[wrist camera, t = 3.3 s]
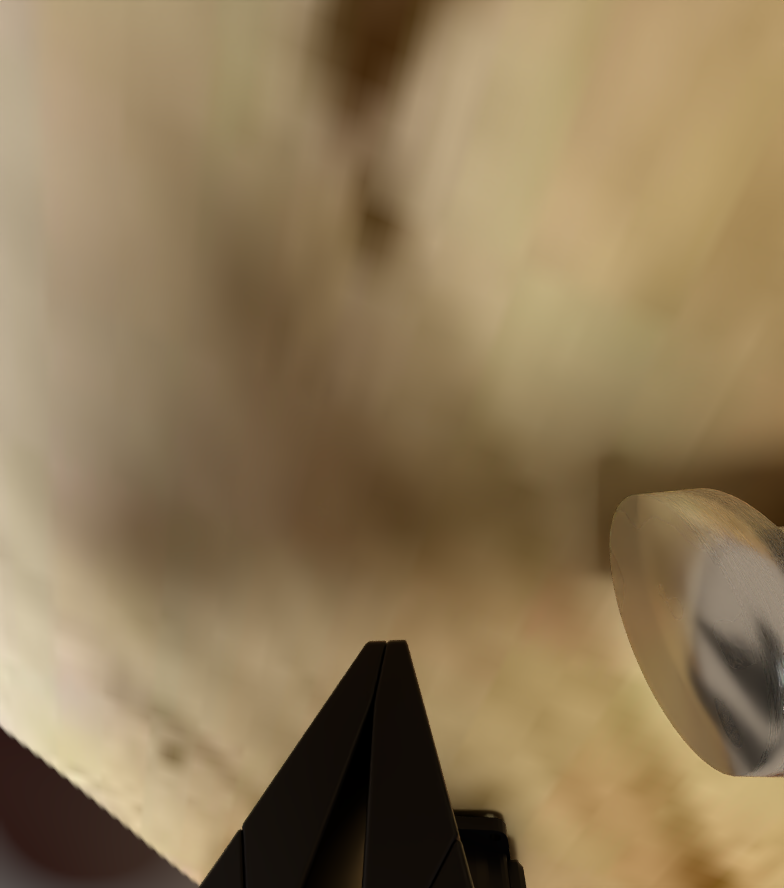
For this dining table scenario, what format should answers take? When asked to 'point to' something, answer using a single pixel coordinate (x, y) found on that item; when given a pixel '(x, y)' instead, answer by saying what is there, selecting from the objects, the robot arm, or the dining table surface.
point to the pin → (707, 620)
